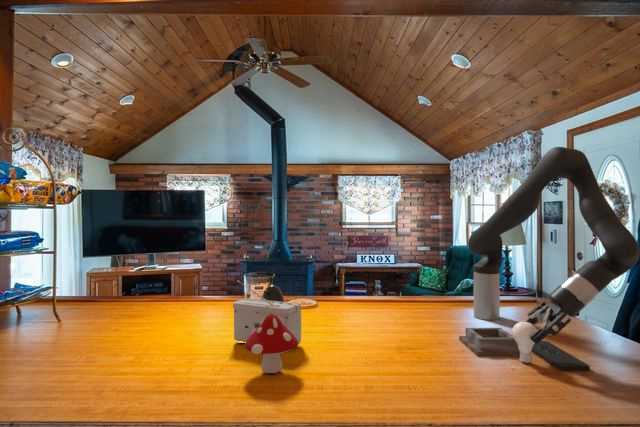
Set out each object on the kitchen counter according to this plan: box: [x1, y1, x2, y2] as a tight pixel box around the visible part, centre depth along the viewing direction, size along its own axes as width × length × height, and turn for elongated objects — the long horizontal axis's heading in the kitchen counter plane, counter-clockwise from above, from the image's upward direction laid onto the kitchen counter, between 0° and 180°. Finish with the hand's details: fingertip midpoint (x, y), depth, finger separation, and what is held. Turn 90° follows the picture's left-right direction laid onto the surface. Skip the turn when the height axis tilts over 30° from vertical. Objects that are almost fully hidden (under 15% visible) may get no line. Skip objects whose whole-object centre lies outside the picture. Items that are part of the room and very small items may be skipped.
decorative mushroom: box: [243, 314, 299, 374], centre depth 101 cm, size 14×14×15 cm
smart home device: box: [531, 340, 591, 372], centre depth 111 cm, size 8×2×20 cm
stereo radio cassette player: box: [232, 279, 302, 345], centre depth 122 cm, size 21×8×20 cm, turn 65°
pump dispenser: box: [260, 284, 285, 302], centre depth 139 cm, size 10×10×15 cm
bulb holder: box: [458, 327, 520, 357], centre depth 118 cm, size 14×14×4 cm
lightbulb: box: [511, 321, 538, 364], centre depth 106 cm, size 6×6×11 cm
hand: (526, 336), depth 106 cm, fingers open, 8 cm apart
